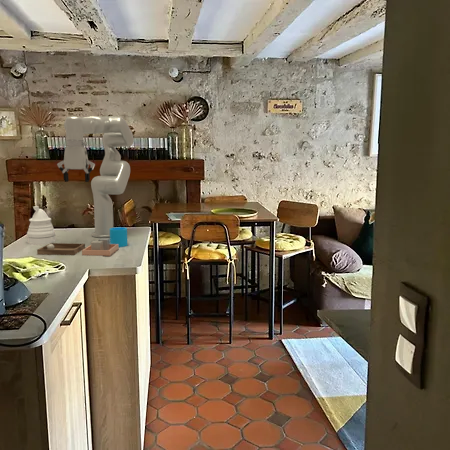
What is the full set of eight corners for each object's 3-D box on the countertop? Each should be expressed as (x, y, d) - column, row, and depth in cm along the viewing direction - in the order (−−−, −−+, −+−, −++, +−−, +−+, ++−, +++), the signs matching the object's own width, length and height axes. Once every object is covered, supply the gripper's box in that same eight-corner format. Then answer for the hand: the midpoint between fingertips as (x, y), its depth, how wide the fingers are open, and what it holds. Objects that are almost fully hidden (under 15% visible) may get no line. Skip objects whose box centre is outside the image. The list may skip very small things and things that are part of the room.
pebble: (48, 250, 203) (48, 243, 203) (55, 250, 203) (55, 243, 203) (45, 251, 200) (45, 244, 200) (53, 251, 200) (52, 244, 199)
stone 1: (94, 251, 200) (94, 240, 199) (103, 251, 200) (103, 240, 199) (91, 253, 196) (91, 242, 195) (100, 254, 196) (100, 242, 195)
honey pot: (38, 246, 213) (36, 208, 210) (21, 243, 220) (19, 206, 217) (61, 241, 224) (59, 205, 221) (44, 239, 231) (42, 204, 228)
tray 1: (50, 248, 209) (50, 243, 208) (85, 248, 208) (84, 243, 208) (37, 255, 195) (37, 249, 194) (74, 255, 194) (73, 250, 194)
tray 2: (92, 249, 208) (92, 243, 208) (118, 249, 208) (118, 244, 207) (82, 256, 194) (81, 250, 194) (109, 256, 194) (109, 250, 193)
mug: (126, 247, 213) (125, 230, 211) (108, 247, 212) (107, 230, 211) (129, 242, 225) (129, 225, 223) (113, 242, 224) (112, 225, 223)
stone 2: (101, 248, 206) (100, 238, 205) (110, 249, 206) (109, 238, 205) (98, 250, 202) (98, 239, 201) (107, 250, 202) (107, 239, 201)
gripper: (96, 144, 211) (97, 181, 214) (59, 144, 211) (61, 181, 214) (91, 144, 203) (92, 182, 206) (53, 144, 204) (55, 182, 207)
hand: (76, 181), depth 210 cm, fingers open, 9 cm apart
